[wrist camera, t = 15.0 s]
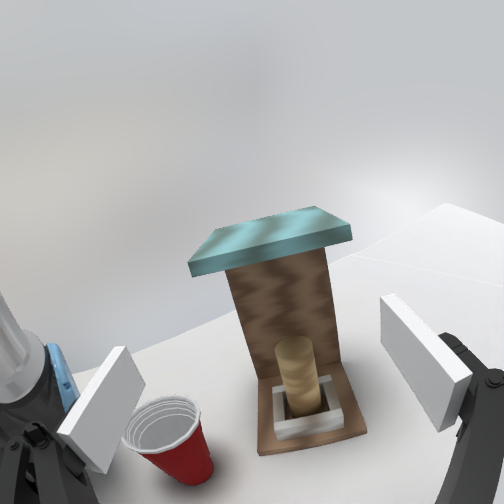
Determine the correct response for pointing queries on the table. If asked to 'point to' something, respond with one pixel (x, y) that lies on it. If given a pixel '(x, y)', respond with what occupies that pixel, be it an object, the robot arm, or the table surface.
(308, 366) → the peg
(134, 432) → the plastic cup
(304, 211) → the awning stand
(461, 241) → the table surface
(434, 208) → the table surface
